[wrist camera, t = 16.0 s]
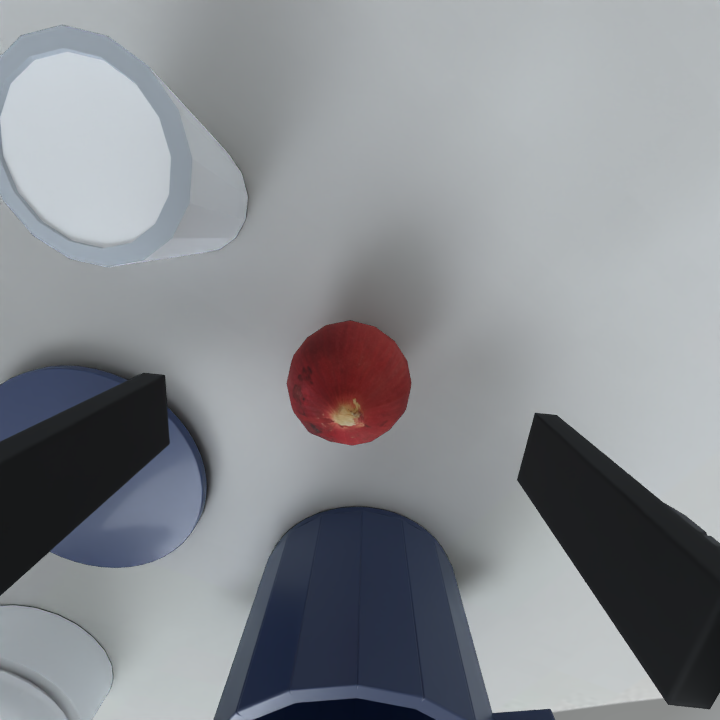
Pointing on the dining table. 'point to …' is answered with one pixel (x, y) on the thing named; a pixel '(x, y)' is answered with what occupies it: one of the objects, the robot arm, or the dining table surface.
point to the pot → (358, 629)
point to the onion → (349, 383)
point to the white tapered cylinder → (109, 155)
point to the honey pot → (49, 667)
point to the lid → (134, 499)
